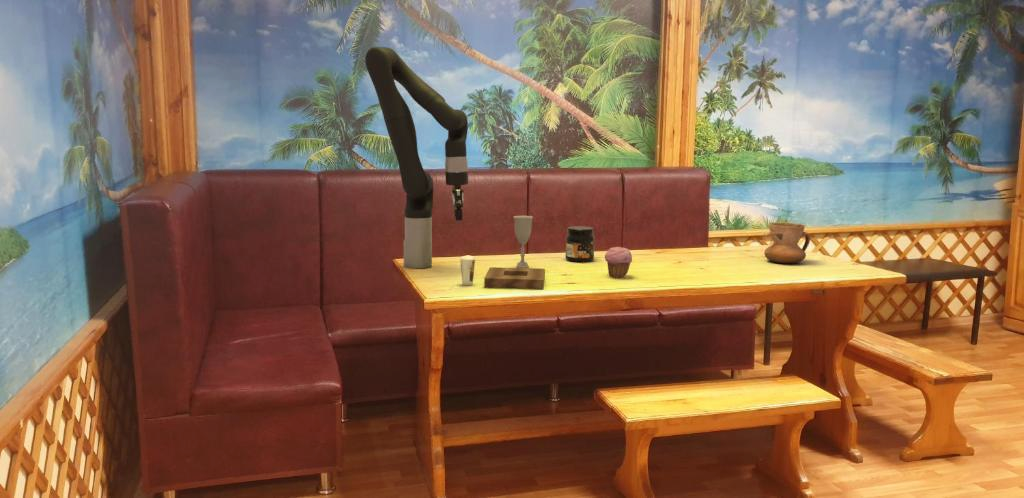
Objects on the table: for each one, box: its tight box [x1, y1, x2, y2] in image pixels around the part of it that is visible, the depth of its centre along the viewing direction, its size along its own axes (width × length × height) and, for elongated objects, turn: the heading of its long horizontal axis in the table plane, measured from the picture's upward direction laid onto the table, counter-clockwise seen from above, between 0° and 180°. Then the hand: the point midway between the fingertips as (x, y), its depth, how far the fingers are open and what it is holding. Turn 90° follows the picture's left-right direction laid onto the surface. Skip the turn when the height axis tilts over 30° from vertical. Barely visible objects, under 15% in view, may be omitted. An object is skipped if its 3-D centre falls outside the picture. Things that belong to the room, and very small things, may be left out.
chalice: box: [513, 215, 534, 268], centre depth 272 cm, size 7×7×18 cm
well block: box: [483, 266, 546, 290], centre depth 251 cm, size 18×18×3 cm
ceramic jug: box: [763, 221, 811, 265], centre depth 293 cm, size 18×14×14 cm
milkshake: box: [457, 253, 476, 287], centre depth 246 cm, size 4×5×10 cm
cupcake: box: [604, 246, 633, 279], centre depth 262 cm, size 9×9×10 cm
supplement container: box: [565, 225, 596, 263], centre depth 291 cm, size 10×10×12 cm
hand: (458, 218), depth 268 cm, fingers open, 8 cm apart
